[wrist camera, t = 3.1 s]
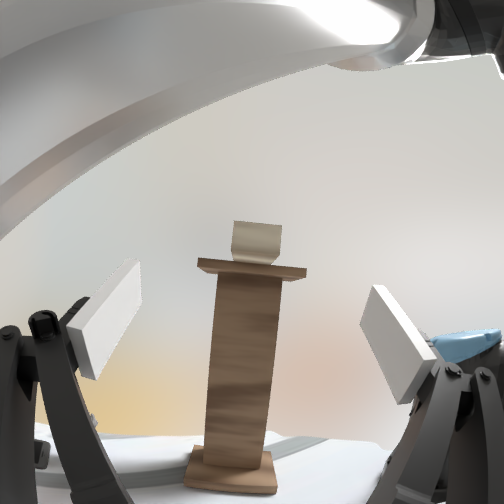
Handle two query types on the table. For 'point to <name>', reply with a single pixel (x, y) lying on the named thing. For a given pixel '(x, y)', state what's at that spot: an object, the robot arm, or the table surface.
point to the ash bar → (255, 242)
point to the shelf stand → (240, 378)
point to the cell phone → (41, 453)
